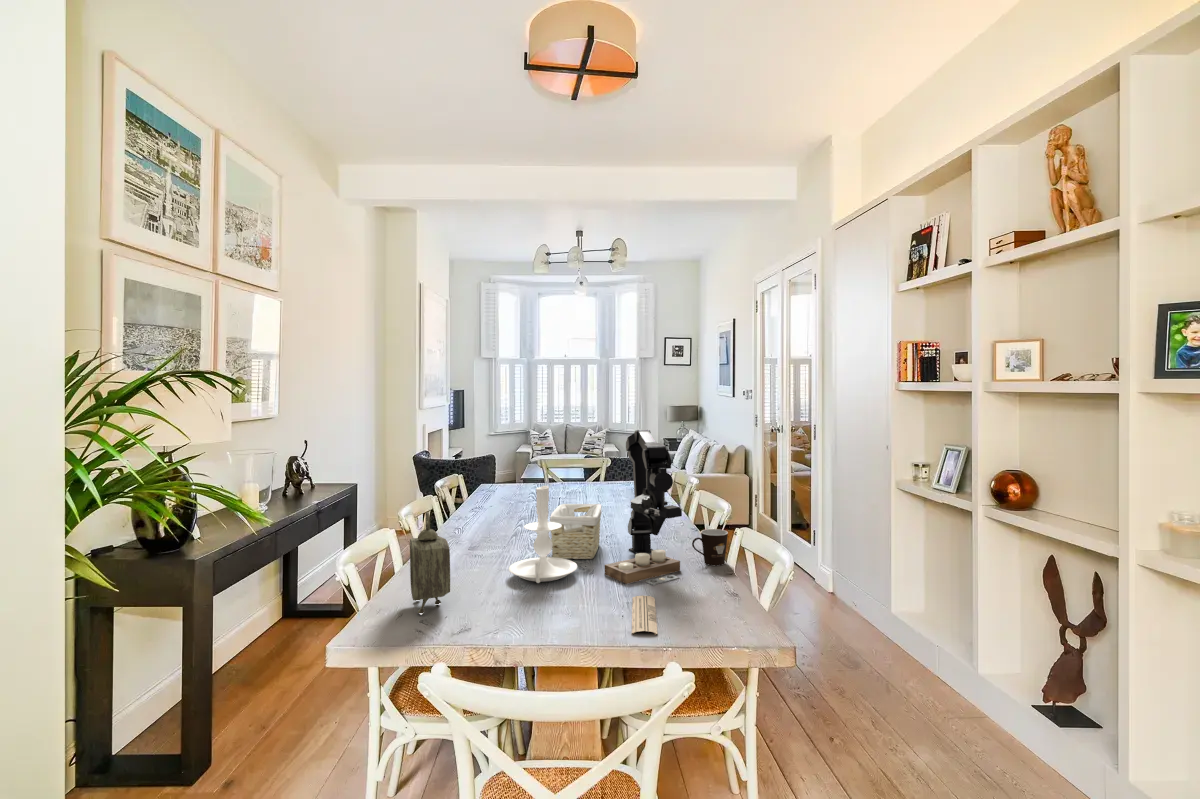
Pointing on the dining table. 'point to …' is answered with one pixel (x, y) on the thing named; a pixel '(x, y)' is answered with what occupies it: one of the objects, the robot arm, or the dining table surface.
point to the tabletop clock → (429, 566)
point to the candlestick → (542, 548)
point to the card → (661, 579)
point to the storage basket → (576, 531)
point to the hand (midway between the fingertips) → (655, 535)
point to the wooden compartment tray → (641, 570)
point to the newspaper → (644, 614)
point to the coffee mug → (713, 546)
